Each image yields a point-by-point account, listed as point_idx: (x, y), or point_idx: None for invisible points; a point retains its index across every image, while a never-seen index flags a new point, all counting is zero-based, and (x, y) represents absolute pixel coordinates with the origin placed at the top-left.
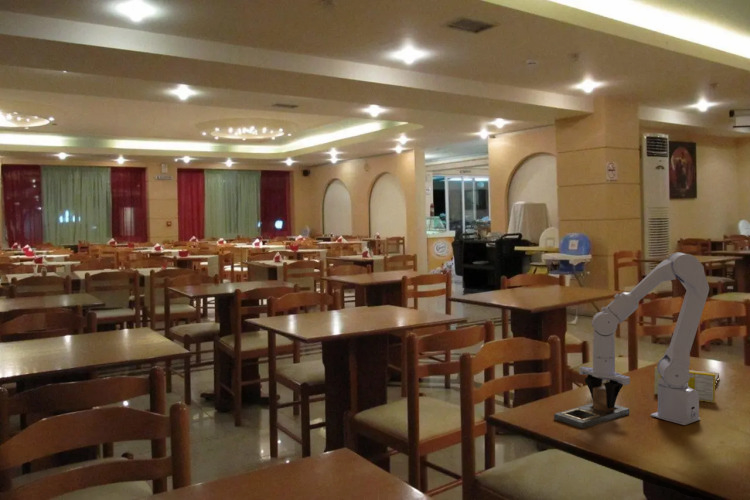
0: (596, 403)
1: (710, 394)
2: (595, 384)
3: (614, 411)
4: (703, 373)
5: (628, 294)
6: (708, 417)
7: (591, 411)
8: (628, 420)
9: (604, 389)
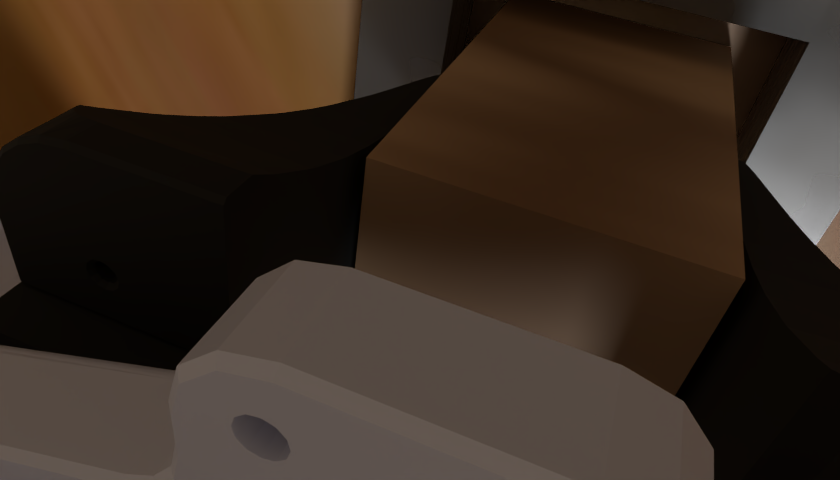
0: (654, 90)
1: None
2: (704, 420)
3: (397, 74)
4: None
5: None
6: None
7: None
8: (264, 27)
9: (440, 255)
